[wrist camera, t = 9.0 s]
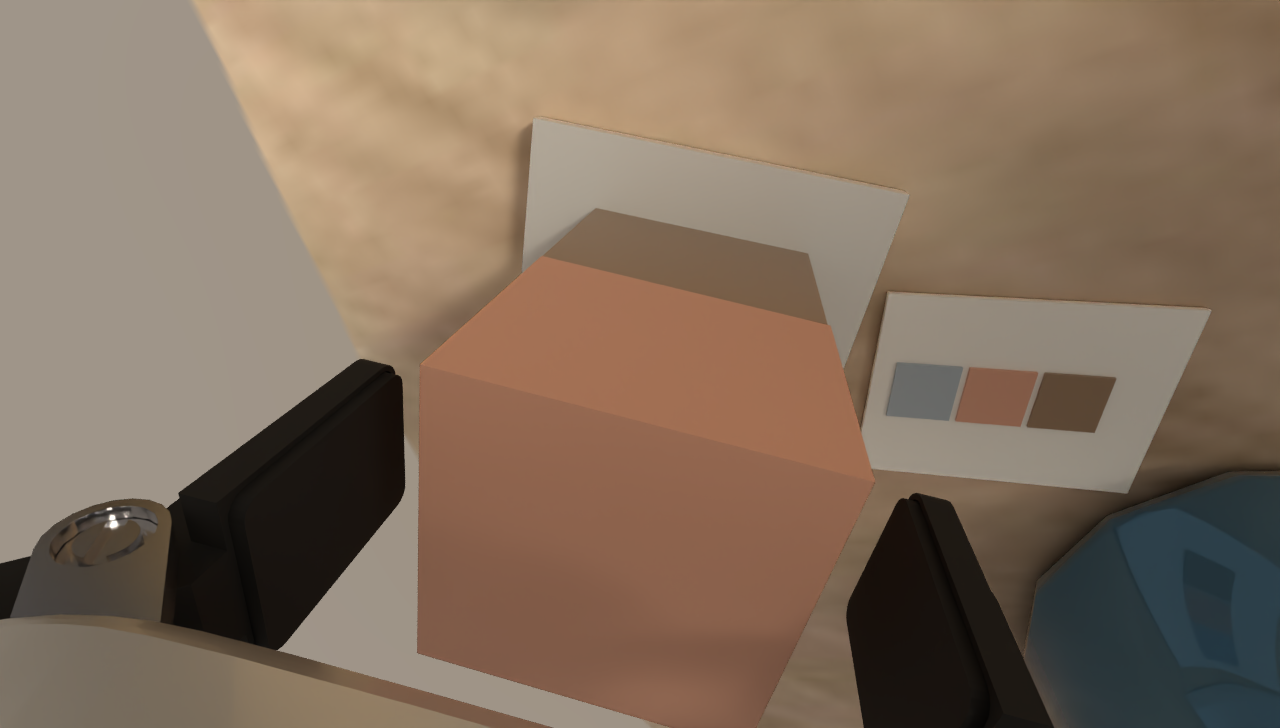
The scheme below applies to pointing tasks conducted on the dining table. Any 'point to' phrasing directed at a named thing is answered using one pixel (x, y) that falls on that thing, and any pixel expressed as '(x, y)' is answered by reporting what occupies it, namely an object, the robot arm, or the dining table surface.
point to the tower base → (710, 223)
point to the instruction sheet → (1023, 387)
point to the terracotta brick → (632, 493)
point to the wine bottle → (1166, 613)
